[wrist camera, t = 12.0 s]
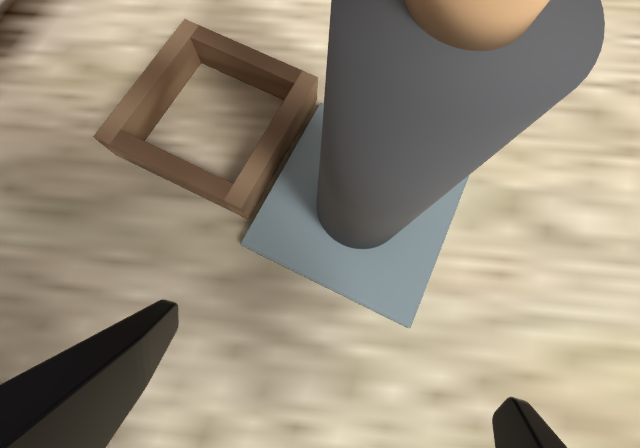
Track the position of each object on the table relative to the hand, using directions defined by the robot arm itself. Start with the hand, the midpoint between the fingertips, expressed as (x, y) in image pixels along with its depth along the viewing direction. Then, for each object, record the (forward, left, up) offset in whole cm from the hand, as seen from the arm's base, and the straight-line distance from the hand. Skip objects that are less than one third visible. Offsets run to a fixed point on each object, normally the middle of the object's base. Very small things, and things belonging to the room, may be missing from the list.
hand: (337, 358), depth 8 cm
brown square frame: (+8, +11, -9) cm, 16 cm away
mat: (+7, +1, -9) cm, 11 cm away
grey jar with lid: (+7, +1, -8) cm, 11 cm away
